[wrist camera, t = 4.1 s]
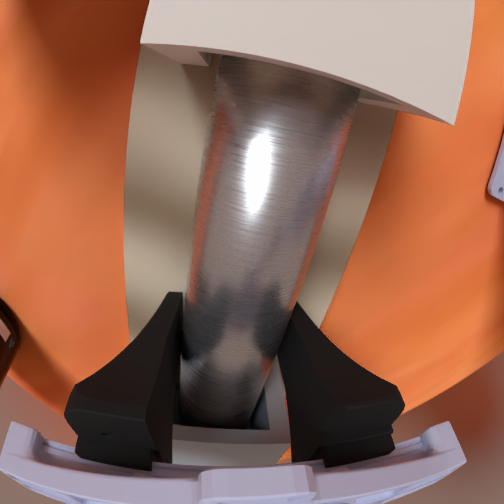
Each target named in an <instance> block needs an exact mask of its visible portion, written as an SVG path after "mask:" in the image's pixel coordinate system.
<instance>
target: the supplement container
mask: <svg viewBox="0 0 504 504" xmlns="http://www.w3.org/2000/svg"><path fill="white" fill-rule="evenodd" d="M20 344H21V336H20V331H19V327H18V325H17V322H16V320H15V318H14V317H13V315H12V313H11V312H10V310H9V309H8V308H7V306H6V305H5V304H4V303H3V302H2V301H1V300H0V388H1V386H2V384H3V382H4V379H5V378H6V375H7V373H8V371H9V369H10V367H11V365H12V363H13V361H14V359H15V357H16V355H17V353H18V351H19V349H20Z"/></svg>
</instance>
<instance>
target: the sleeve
mask: <svg viewBox="0 0 504 504" xmlns="http://www.w3.org/2000/svg"><path fill="white" fill-rule="evenodd" d="M474 3H475V0H150V2H149V6H148V9H147V13H146V18H145V22H144V26H143V31H142V35H141V40H140V43H141V44H143V45H145V46H147V47H149V48H151V49H153V50H155V51H157V52H159V53H161V54H163V55H165V56H167V57H169V58H171V59H173V60H175V61H177V62H179V63H181V64H190V65H199V66H208V67H209V65H210V61H211V56H212V53H216V54H223V55H230V56H237V57H242V58H248V59H254V60H259V61H264V62H269V63H273V64H278V65H282V66H286V67H291V68H295V69H299V70H302V71H306V72H310V73H313V74H317V75H320V76H324V77H327V78H330V79H334V80H337V81H340V82H343V83H346V84H349V85H352V86H355V87H358V88H361V91H360V95H359V99H358V101H359V102H362V103H366V104H371V105H376V106H381V107H386V108H390V109H395V110H399V111H403V112H407V113H411V114H415V115H419V116H423V117H426V118H430V119H433V120H437V121H440V122H443V123H447V124H450V125H453V126H454V123H455V119H456V115H457V111H458V107H459V103H460V99H461V94H462V89H463V85H464V80H465V74H466V69H467V63H468V57H469V51H470V44H471V36H472V27H473V17H474Z"/></svg>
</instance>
